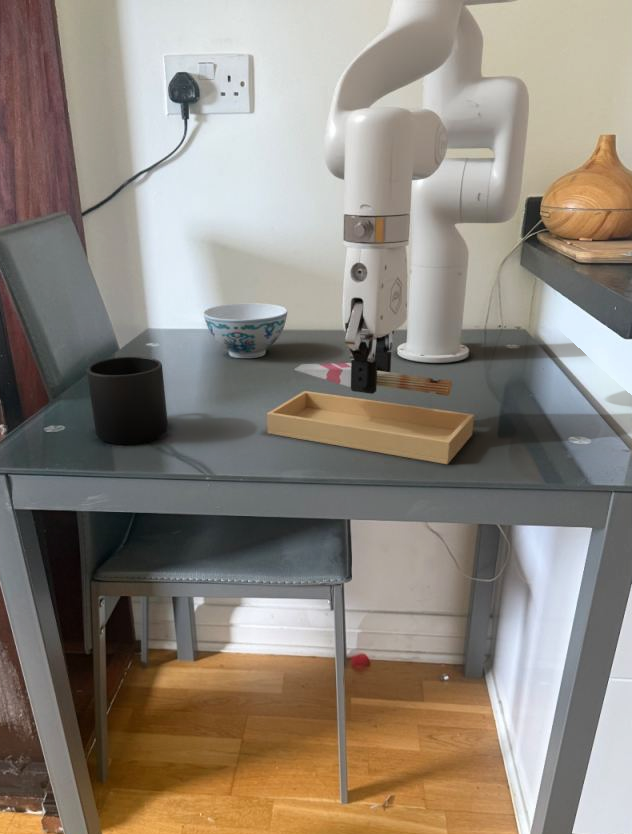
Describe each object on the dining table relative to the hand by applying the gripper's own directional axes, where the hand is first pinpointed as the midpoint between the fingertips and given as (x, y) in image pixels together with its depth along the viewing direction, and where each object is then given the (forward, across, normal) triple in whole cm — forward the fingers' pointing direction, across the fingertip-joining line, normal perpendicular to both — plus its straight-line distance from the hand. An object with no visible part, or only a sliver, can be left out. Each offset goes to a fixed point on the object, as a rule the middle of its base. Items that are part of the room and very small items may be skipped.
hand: (370, 385), depth 90 cm
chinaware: (+7, +29, +36) cm, 47 cm away
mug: (+7, -12, +29) cm, 32 cm away
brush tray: (+7, 0, 0) cm, 7 cm away
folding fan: (0, 0, 0) cm, 0 cm away
